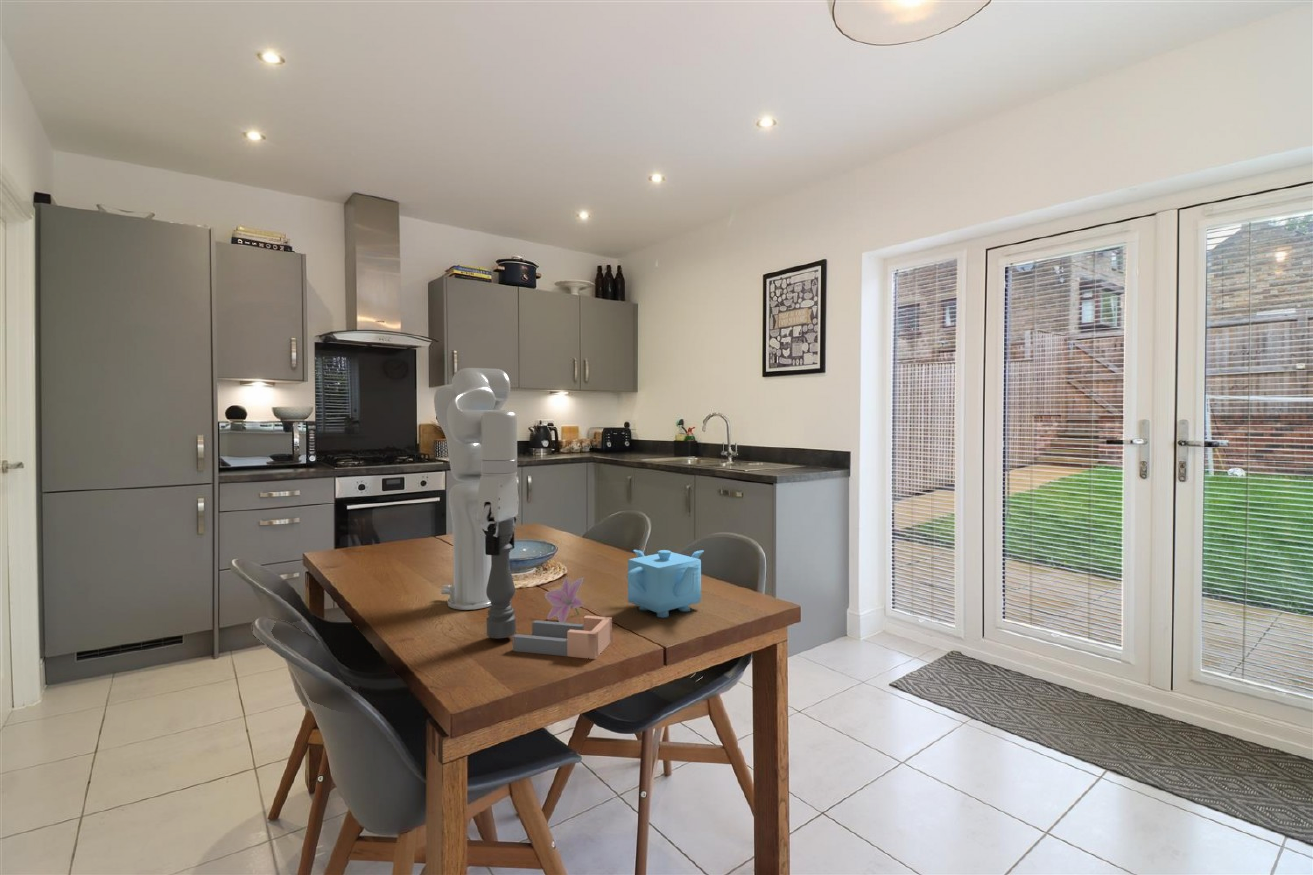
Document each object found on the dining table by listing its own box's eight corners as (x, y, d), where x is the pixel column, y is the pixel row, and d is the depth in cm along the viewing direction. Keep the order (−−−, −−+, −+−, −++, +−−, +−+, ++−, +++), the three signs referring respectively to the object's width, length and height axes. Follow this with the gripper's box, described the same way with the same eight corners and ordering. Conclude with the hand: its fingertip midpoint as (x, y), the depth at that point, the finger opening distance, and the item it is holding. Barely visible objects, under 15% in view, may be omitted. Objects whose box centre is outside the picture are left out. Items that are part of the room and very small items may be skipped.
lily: (545, 615, 152) (532, 586, 148) (588, 593, 155) (576, 564, 151) (558, 645, 142) (544, 615, 138) (604, 620, 145) (591, 591, 141)
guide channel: (513, 650, 126) (512, 626, 126) (535, 633, 136) (535, 611, 136) (595, 659, 122) (595, 634, 122) (612, 640, 132) (612, 617, 132)
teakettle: (623, 620, 145) (623, 558, 145) (633, 596, 164) (633, 542, 164) (703, 622, 144) (703, 560, 143) (703, 598, 162) (703, 543, 162)
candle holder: (489, 628, 136) (487, 516, 135) (517, 627, 136) (516, 516, 135) (483, 638, 129) (482, 521, 128) (513, 637, 130) (512, 521, 129)
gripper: (503, 464, 141) (503, 542, 141) (461, 471, 124) (462, 559, 125) (533, 465, 139) (533, 544, 139) (495, 472, 122) (495, 562, 123)
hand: (500, 550), depth 132 cm, fingers closed on candle holder, 5 cm apart
